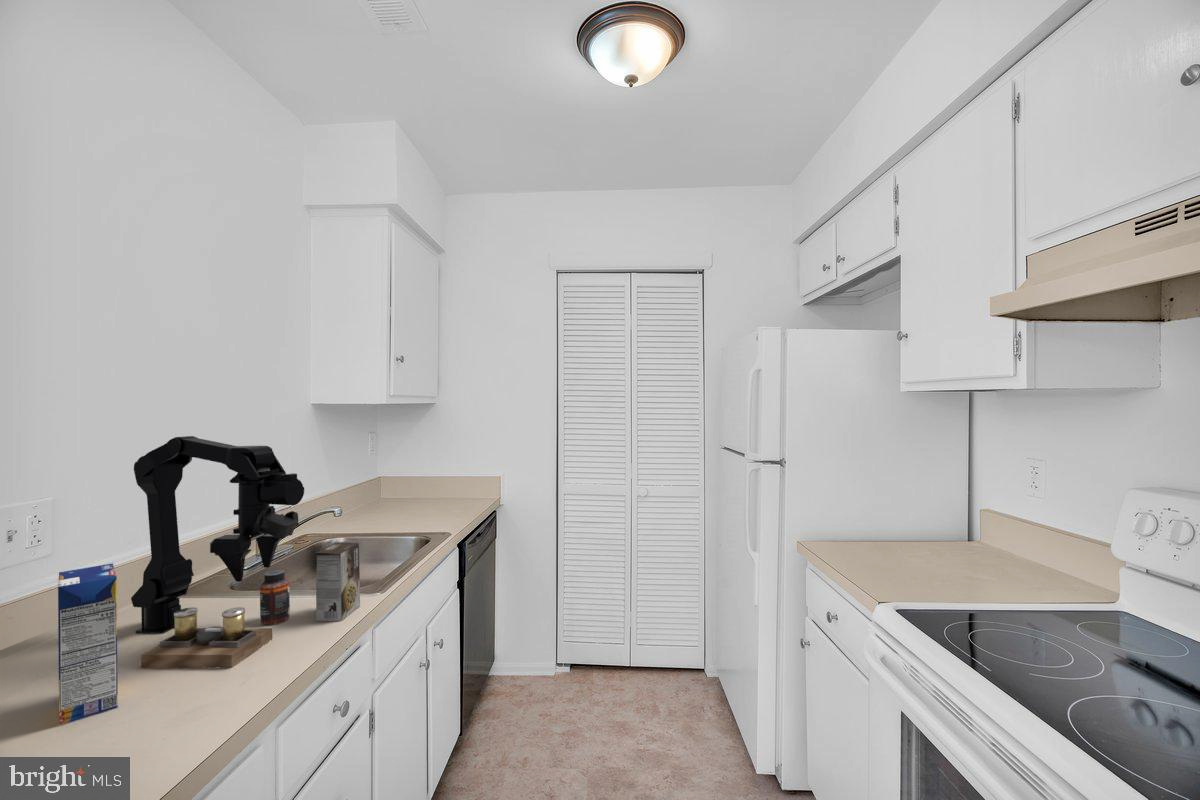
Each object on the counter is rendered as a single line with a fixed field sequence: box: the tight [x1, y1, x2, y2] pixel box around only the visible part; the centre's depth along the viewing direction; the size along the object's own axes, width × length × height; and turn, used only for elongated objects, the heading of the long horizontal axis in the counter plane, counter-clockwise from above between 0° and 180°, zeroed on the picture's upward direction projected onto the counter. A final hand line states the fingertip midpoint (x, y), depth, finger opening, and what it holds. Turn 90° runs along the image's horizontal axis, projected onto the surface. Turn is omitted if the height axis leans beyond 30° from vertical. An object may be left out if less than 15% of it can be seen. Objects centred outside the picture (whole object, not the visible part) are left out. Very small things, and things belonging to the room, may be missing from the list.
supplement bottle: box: [259, 569, 291, 626], centre depth 123 cm, size 6×6×11 cm
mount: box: [140, 627, 274, 669], centre depth 107 cm, size 18×12×4 cm, turn 88°
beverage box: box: [57, 563, 119, 726], centre depth 89 cm, size 7×11×22 cm, turn 45°
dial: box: [196, 625, 223, 645], centre depth 107 cm, size 5×4×2 cm
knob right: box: [221, 606, 246, 641], centre depth 107 cm, size 4×4×6 cm
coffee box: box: [314, 541, 361, 622], centre depth 127 cm, size 9×6×16 cm
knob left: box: [174, 606, 198, 641], centre depth 107 cm, size 4×4×6 cm
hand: (253, 574), depth 115 cm, fingers open, 9 cm apart
